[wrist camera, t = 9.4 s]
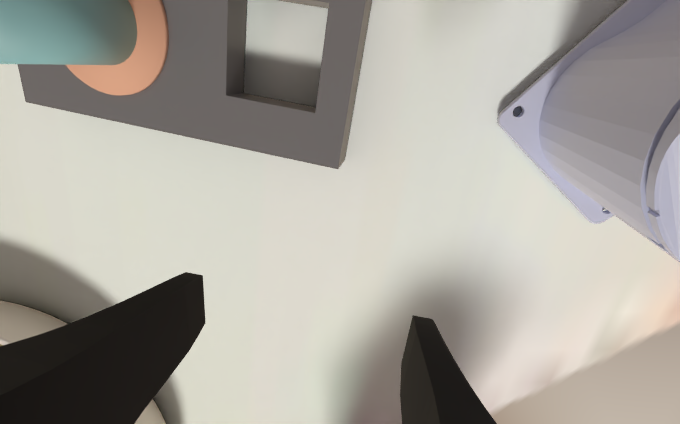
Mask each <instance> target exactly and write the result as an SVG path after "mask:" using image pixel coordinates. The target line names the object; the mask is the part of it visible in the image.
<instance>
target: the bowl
mask: <svg viewBox="0 0 680 424" xmlns="http://www.w3.org/2000/svg"><path fill="white" fill-rule="evenodd" d="M65 325H67V323H65V322H63V321H61V320H59V319H57V318H55V317H53V316H51V315H48V314H46V313H43V312H41V311H38V310H35V309H32V308H29V307H26V306H23V305H19V304H15V303H10V302H5V301H0V346H3V345H6V344H10V343H13V342H16V341H20V340H23V339H26V338H30V337H33V336H36V335H39V334H42V333H45V332H48V331H51V330H53V329H56V328H59V327H62V326H65ZM134 424H166V423H165V421H164V419H163V417H162V414H161V412H160V410H159V409H158V407H157V405H156V403H155V402H154V400H153V399H152V400H151V402H150V403H149V404H148V405H147V407H146V408H145V409H144V411H143V412H142V414H141V415H140V416H139V418H138V419H137V421H136V422H135V423H134Z"/></svg>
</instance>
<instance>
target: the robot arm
mask: <svg viewBox="0 0 680 424" xmlns="http://www.w3.org/2000/svg"><path fill="white" fill-rule="evenodd" d="M517 106H521V108H522V112H521V114H520V115H518V116H514V115H513V110H514V108H515V107H517ZM497 123H498V124H499V126H500V127H501V128H502V129H503V130H504V131H505V132H506V133H507V134H508V136H509V137H510V138H511V139H512V140H513V141H514V142H515V143H516V144H517V145H518V146H519V147H520V148H521V149H522V150H523V152H524V153H525V154H526V155H527V156H528V157H529V158H530V159H531V160H532V161H533V162H534V163H535V164H536V165H537V166H538V168H539V169H540V170H541V171H542V172H543V173H544V174H545V175H546V176H547V177H548V178H549V179H550V180H551V181H552V182H553V184H554V185H555V186H556V187H557V188H558V189H559V190H560V191H561V192H562V193H563V194H564V195H565V196H566V197H567V198H568V200H569V201H570V202H571V203H572V204H573V205H574V206H575V207H576V208H577V209H578V210H579V211H580V212H581V213H582V214H583V216H584V217H585V218H586V219H587V220H589V221H590V222H591V223H595V224H598V223H602V222H604V221H606V220H607V219H609V218H611V217H612V216H614V215H615V216H616V217H618V218H619V219H620V220H622V221H623V222H624V223H626V224H627V225H629V226H630V227H631V228H633V229H634V230H636V231H637V232H638V233H640V234H641V235H643V236H644V237H645V238H647V239H648V240H649V241H651V242H652V243H654V244H655V245H656V246H658V247H659V248H661V249H662V250H663V251H665V252H666V253H667V254H669V255H670V256H672V257H673V258H674V259H676V260H677V261H679V262H680V0H627V1H626V2H625V3H624V4H622V5H621V6H620V7H619V8H618V9H617V10H616V11H614V12H613V13H612V14H611V15H610V16H609V17H608V18H607V19H605V20H604V21H603V22H602V23H601V24H600V25H599V26H597V27H596V28H595V29H594V30H593V31H592V32H591V33H589V34H588V35H587V36H586V37H585V38H584V39H583V40H582V41H580V42H579V43H578V44H577V45H576V46H575V47H574V48H572V49H571V50H570V51H569V52H568V53H567V54H566V55H565V56H563V57H562V58H561V59H560V60H559V61H558V62H557V63H555V64H554V65H553V66H552V67H551V68H550V69H549V70H547V71H546V72H545V73H544V74H543V75H542V76H541V77H540V78H538V79H537V80H536V81H535V82H534V83H533V84H532V85H530V86H529V87H528V88H527V89H526V90H525V91H524V92H523V93H521V94H520V95H519V96H518V97H517V98H516V99H515V100H513V101H512V102H511V103H510V104H509V105H508V106H507V107H506V108H504V109H503V110H502V111H501V112H500V113H499V115H498V118H497ZM603 207H604V208H605V209H606V211H602V209H603ZM204 324H205V309H204V291H203V275H197V274H192V273H187V272H186V273H183V274H181V275H178V276H176V277H174V278H172V279H169V280H167V281H165V282H163V283H161V284H159V285H157V286H155V287H153V288H150V289H148V290H146V291H144V292H142V293H140V294H138V295H136V296H133V297H131V298H129V299H127V300H125V301H123V302H120V303H118V304H116V305H113V306H111V307H109V308H106V309H104V310H102V311H100V312H97V313H95V314H93V315H90V316H88V317H85V318H83V319H80V320H78V321H75V322H73V323H70V324H67V325H65V326H62V327H59V328H56V329H53V330H51V331H48V332H45V333H42V334H39V335H36V336H33V337H30V338H26V339H23V340H20V341H16V342H13V343H10V344H6V345H3V346H0V424H134V423H135V422H136V421H137V419H138V418H139V416H140V415H141V414H142V412H143V411H144V409H145V408H146V407H147V405H148V404H149V403H150V402H151V400H152V399H153V398H154V396H155V395H156V394H157V392H158V391H159V390H160V388H161V387H162V386H163V385H164V383H165V382H166V381H167V379H168V378H169V377H170V375H171V374H172V373H173V371H174V370H175V369H176V367H177V366H178V365H179V363H180V362H181V361H182V359H183V358H184V357H185V355H186V354H187V353H188V351H189V350H190V348H191V347H192V345H193V343H194V342H195V340H196V338H197V337H198V335H199V333H200V331H201V330H202V328H203V326H204ZM400 397H401V412H402V424H496V422H495V421H494V419H493V418H492V417H491V415H490V414H489V413H488V411H487V410H486V408H485V407H484V405H483V404H482V403H481V401H480V400H479V398H478V397H477V395H476V394H475V392H474V391H473V389H472V388H471V386H470V385H469V383H468V381H467V380H466V378H465V377H464V375H463V373H462V372H461V370H460V368H459V367H458V365H457V363H456V362H455V360H454V358H453V356H452V355H451V353H450V351H449V349H448V347H447V346H446V344H445V342H444V340H443V338H442V336H441V334H440V332H439V330H438V328H437V326H436V324H435V322H434V321H433V320H432V319H429V318H423V317H418V316H413V318H412V322H411V326H410V330H409V334H408V339H407V343H406V347H405V351H404V355H403V359H402V365H401V390H400Z"/></svg>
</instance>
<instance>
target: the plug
mask: <svg viewBox="0 0 680 424" xmlns="http://www.w3.org/2000/svg"><path fill="white" fill-rule="evenodd" d="M136 41H137V24H136V19H135V15H134V12H133V9H132V7H131V5H130V3H129V1H128V0H0V64H54V65H118V64H121V63H123V62H124V61H126V60H127V59H128V58H129V57H130V56H131V54H132V52H133V50H134V48H135V45H136Z"/></svg>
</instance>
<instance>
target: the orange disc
mask: <svg viewBox="0 0 680 424" xmlns="http://www.w3.org/2000/svg"><path fill="white" fill-rule="evenodd" d="M128 1H129V3H130V5H131V7H132V9H133V12H134V15H135V19H136V24H137V41H136V45H135V48H134V50H133V52H132V54H131V56H130V57H129V58H128V59H127V60H126V61H124V62H123V63H121V64H118V65H66V66H67V67H68V69H69V70H70V71H71V72H72V73H73V74H74V75H75V76H76V77H77V78H79V79H80V80H81V81H82V82H84V83H85V84H87V85H88V86H90V87H91V88H93V89H96V90H98V91H100V92H103V93H106V94H110V95H131V94H135V93H138V92H141V91H143V90H145V89H146V88H148V87H149V86H150V85H152V83H153V82H154V81H155V80H156V79H157V78H158V76H159V75H160V73H161V71H162V69H163V67H164V64H165V61H166V58H167V53H168V47H169V29H168V22H167V16H166V12H165V8H164V5H163V2H162V0H128Z"/></svg>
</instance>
